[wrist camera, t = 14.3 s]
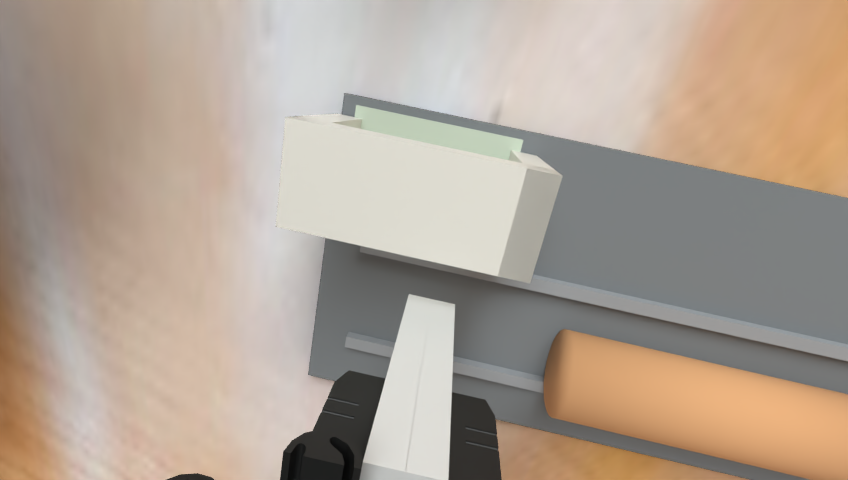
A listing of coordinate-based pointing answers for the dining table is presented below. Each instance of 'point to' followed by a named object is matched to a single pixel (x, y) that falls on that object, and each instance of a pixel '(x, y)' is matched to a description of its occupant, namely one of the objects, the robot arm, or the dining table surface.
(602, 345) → the tan cylindrical rod
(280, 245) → the dining table surface
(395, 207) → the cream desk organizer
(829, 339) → the guide mat
